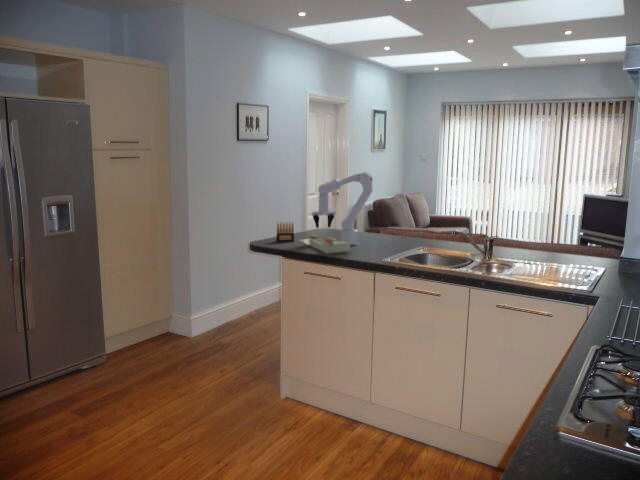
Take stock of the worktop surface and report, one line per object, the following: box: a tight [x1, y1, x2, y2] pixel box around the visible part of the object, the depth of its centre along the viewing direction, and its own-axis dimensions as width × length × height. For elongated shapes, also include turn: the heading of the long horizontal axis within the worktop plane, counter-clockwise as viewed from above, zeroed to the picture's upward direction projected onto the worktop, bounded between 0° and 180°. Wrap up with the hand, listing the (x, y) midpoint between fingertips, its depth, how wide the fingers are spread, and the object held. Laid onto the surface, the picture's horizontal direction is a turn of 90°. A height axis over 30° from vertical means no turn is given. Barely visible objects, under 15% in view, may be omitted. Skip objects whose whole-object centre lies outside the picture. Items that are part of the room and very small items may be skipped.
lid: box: [298, 234, 319, 246], centre depth 315 cm, size 14×16×4 cm
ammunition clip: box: [275, 221, 295, 243], centre depth 313 cm, size 11×2×12 cm, turn 102°
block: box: [323, 236, 333, 245], centre depth 282 cm, size 3×6×3 cm, turn 24°
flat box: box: [309, 237, 351, 255], centre depth 294 cm, size 14×24×5 cm, turn 24°
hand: (323, 227), depth 311 cm, fingers open, 7 cm apart
